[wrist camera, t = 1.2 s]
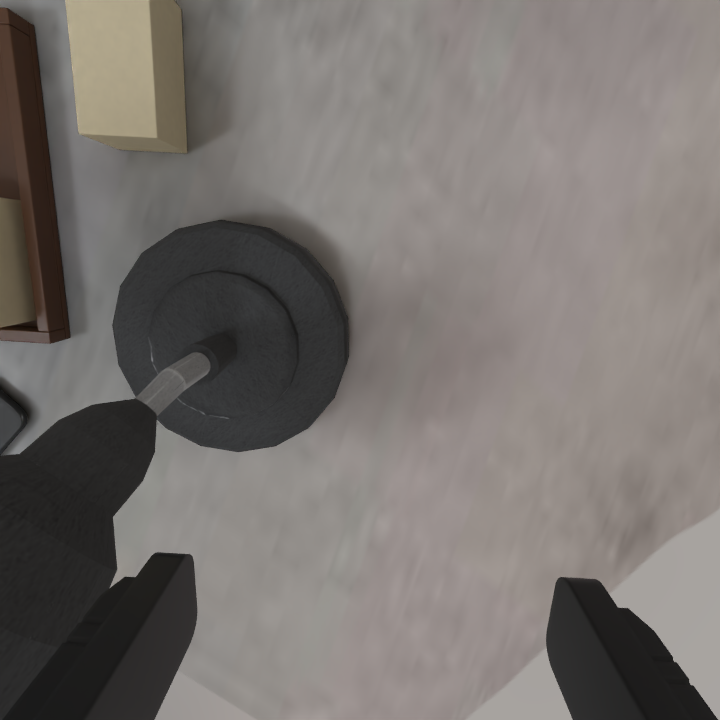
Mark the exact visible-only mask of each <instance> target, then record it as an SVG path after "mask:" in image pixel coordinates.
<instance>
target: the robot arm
mask: <svg viewBox="0 0 720 720" xmlns="http://www.w3.org/2000/svg"><path fill="white" fill-rule="evenodd" d="M196 620H197V598H196V585H195V572H194V561H193V557H192V556H191V555H190V554H176V553H159V552H157V553H155V554H153V555H152V556H151V557H150V559H149V560H148V561H147V563H146V564H145V565H144V567H143V568H142V570H141V571H140V572H139V574H138V575H137V576H136V577H124V578H123V579H121V580H120V581H119V582H117V583H116V584H115V585H113V586H112V587H111V588H110V589H108V590H107V591H106V592H104V593H103V594H102V595H100V597H99V598H98V599H97V600H96V602H95V603H94V604H93V605H92V607H91V608H90V609H89V610H88V612H87V613H86V614H85V615H84V617H83V618H82V622H81V623H78V624H77V626H76V627H75V628H74V629H73V631H72V632H71V633H70V634H69V636H68V637H67V640H66V642H65V643H62V645H61V646H60V647H59V648H58V650H57V651H56V652H55V653H54V655H53V656H52V657H51V658H50V660H49V661H48V662H47V664H46V665H45V666H44V667H43V669H42V670H41V671H40V672H39V674H38V675H37V676H36V677H35V679H34V680H33V681H32V682H31V684H30V685H29V686H28V688H27V689H26V690H25V691H24V693H23V694H22V695H21V696H20V698H19V699H18V700H17V701H16V703H15V704H14V705H13V706H12V708H11V709H10V710H9V712H8V713H7V714H6V715H5V717H4V718H3V719H2V720H154V719H155V717H156V715H157V713H158V711H159V709H160V706H161V704H162V702H163V700H164V697H165V696H166V694H167V692H168V690H169V687H170V685H171V683H172V681H173V679H174V676H175V674H176V672H177V670H178V668H179V666H180V664H181V662H182V660H183V658H184V655H185V653H186V651H187V649H188V647H189V645H190V642H191V640H192V637H193V634H194V630H195V626H196ZM546 644H547V652H548V657H549V661H550V665H551V668H552V670H553V673H554V675H555V678H556V680H557V682H558V685H559V687H560V689H561V692H562V694H563V697H564V699H565V702H566V704H567V706H568V709H569V711H570V714H571V716H572V719H573V720H718V719H717V718H716V716H715V715H714V714H713V712H712V711H711V709H710V708H709V707H708V705H707V704H706V703H705V701H704V700H703V698H702V697H701V696H700V694H699V693H698V691H697V690H696V689H695V687H694V686H691V685H690V683H689V679H688V677H687V676H686V675H685V673H684V672H683V671H682V669H681V668H680V666H679V665H678V664H677V663H676V662H674V661H673V657H672V655H671V654H670V652H669V651H668V650H667V648H666V647H665V646H664V644H663V643H662V641H661V640H660V638H659V637H658V636H657V634H656V633H655V632H654V630H652V629H651V628H650V627H649V626H648V625H647V624H646V623H644V622H643V621H642V620H641V619H640V618H639V617H637V616H636V615H635V614H634V613H633V612H632V611H631V610H629V609H628V608H618V607H617V606H616V604H615V603H614V601H613V600H612V598H611V597H610V595H609V594H608V592H607V591H606V589H605V588H604V586H603V585H602V583H601V582H600V581H598V580H596V579H584V578H567V577H560V578H558V580H557V582H556V585H555V590H554V595H553V601H552V606H551V611H550V617H549V622H548V627H547V634H546Z"/></svg>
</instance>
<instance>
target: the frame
mask: <svg viewBox="0 0 720 720" xmlns="http://www.w3.org/2000/svg"><path fill="white" fill-rule="evenodd" d="M0 198H7V199H14V200H21V208H22V215H23V223H24V230H25V237H26V245H27V252H28V260H29V267H30V275H31V282H32V289H33V297H34V304H35V312H36V319H37V320H34V321H30V322H25V323H20V324H15V325H10V326H5V327H0V340H1V341H17V342H33V343H49V344H51V343H54V342H58V341H61V340H65V339H68V338H70V331H69V323H68V314H67V306H66V297H65V288H64V280H63V271H62V262H61V254H60V245H59V237H58V228H57V219H56V211H55V202H54V194H53V185H52V176H51V168H50V159H49V151H48V142H47V133H46V125H45V116H44V108H43V99H42V90H41V82H40V73H39V64H38V56H37V47H36V39H35V30H34V25H32V24H31V23H29V22H27V21H26V20H25V19H23V18H22V17H20V16H19V15H17V14H16V13H14V12H13V11H11V10H10V9H8V8H0Z"/></svg>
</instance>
